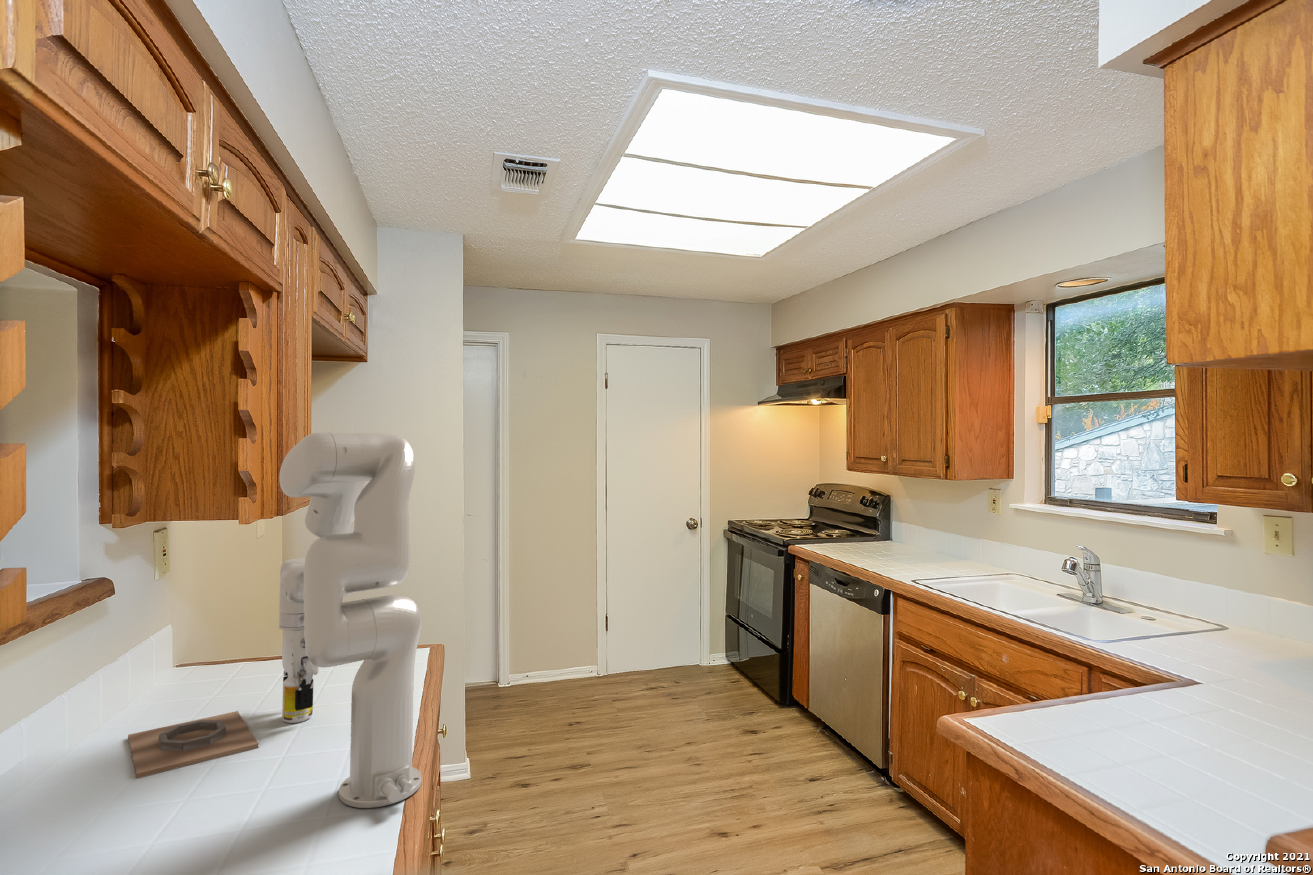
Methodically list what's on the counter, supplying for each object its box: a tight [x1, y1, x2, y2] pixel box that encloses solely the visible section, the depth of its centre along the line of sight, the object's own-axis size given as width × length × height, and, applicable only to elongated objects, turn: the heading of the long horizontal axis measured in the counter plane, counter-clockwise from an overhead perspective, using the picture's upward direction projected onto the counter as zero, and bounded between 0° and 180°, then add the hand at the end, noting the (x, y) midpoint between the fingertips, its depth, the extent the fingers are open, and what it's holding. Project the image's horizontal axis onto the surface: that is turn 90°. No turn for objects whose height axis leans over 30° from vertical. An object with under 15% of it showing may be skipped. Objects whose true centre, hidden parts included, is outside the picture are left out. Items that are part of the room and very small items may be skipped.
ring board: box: [127, 710, 259, 779], centre depth 126 cm, size 20×18×2 cm
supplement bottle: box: [281, 673, 314, 724], centre depth 138 cm, size 6×6×10 cm
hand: (297, 701), depth 138 cm, fingers open, 9 cm apart
